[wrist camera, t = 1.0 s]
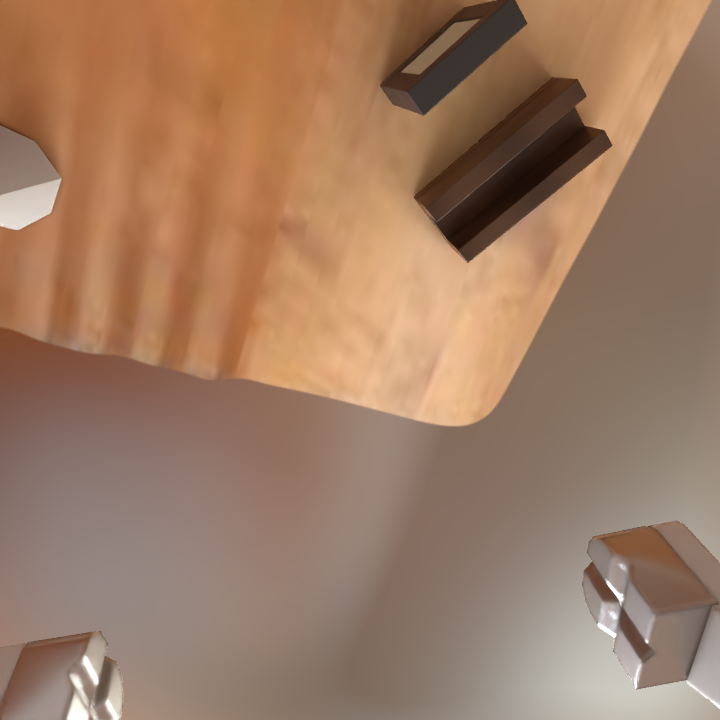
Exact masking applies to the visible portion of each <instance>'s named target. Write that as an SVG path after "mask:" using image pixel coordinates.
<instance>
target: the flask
mask: <svg viewBox="0 0 720 720" xmlns="http://www.w3.org/2000/svg"><path fill="white" fill-rule="evenodd" d="M61 179H62V178H61V177H60V175H59V174H58V173H57V171H56V170H55V168H54V167H53V166H52V164H51V163H50V161H49V160H48V159H47V157H46V156H45V154H44V153H43V152H42V150H41V149H40V147H39V146H38V145H37V143H36V142H35V141H33V140H31V139H29V138H27V137H25V136H22V135H20V134H18V133H16V132H14V131H12V130H9V129H7V128H5V127H3V126H1V125H0V226H2V227H6V228H10V229H15V230H19V229H21V228H23V227H25V226H27V225H29V224H31V223H33V222H35V221H37V220H39V219H41V218H42V217H44V216H46V215H48V214H50V213H51V211H52V208H53V205H54V201H55V198H56V195H57V192H58V189H59V186H60V183H61Z"/></svg>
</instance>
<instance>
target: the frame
mask: <svg viewBox="0 0 720 720" xmlns="http://www.w3.org/2000/svg"><path fill="white" fill-rule="evenodd" d="M526 24H527V22H526V20H525V18H524V16H523V14H522V12H521V11H520V9H519V7H518V5H517V3H516V1H515V0H496V1H491V2H487V3H483V4H478V5H474V6H469V7H464V8H463V9H462V10H461V11H460V12H458V13H457V14H456V15H455V16H454V17H453V18H452V19H451V20H450V21H449V22H448V23H447V24H445V25H444V26H443V27H442V28H441V29H440V30H439V31H438V32H437V33H436V34H435V35H434V36H432V37H431V38H430V39H429V40H428V41H427V42H426V43H425V44H424V45H423V46H422V47H421V48H419V49H418V50H417V51H416V52H415V53H414V54H413V55H412V56H411V57H410V58H409V59H408V60H406V61H405V62H404V63H403V64H402V65H401V66H400V67H399V68H398V69H397V70H396V71H395V72H393V73H392V74H391V75H390V76H389V77H388V78H387V79H386V80H385V81H384V82H383V83H382V84H380V86H381V88H382V89H383V91H384V92H385V93H386V95H387V96H388V98H389V99H390V100H391V102H392V103H393V105H396V106H399V107H402V108H404V109H407V110H410V111H413V112H415V113H418V114H420V115H423V116H424V115H425V114H427V113H428V112H429V111H430V110H431V109H432V108H433V107H434V106H436V105H437V104H438V103H439V102H440V101H441V100H442V99H443V98H444V97H446V96H447V95H448V94H449V93H450V92H451V91H452V90H453V89H455V88H456V87H457V86H458V85H459V84H460V83H461V82H462V81H464V80H465V79H466V78H467V77H468V76H469V75H470V74H471V73H473V72H474V71H475V70H476V69H477V68H478V67H479V66H480V65H481V64H483V63H484V62H485V61H486V60H487V59H488V58H489V57H490V56H492V55H493V54H494V53H495V52H496V51H497V50H498V49H499V48H501V47H502V46H503V45H504V44H505V43H506V42H507V41H508V40H510V39H511V38H512V37H513V36H514V35H515V34H516V33H517V32H519V31H520V30H521V29H522V28H523V27H524V26H525V25H526Z"/></svg>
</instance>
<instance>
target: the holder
mask: <svg viewBox="0 0 720 720" xmlns="http://www.w3.org/2000/svg"><path fill="white" fill-rule="evenodd" d="M585 97H586V94H585V92H584V90H583V88H582V87H581V85H580V83H579V81H578V79H566V78H554V77H553V78H551V79H550V80H549V81H548V82H547V83H546V84H544V85H543V86H542V87H541V88H540V89H539V90H537V91H536V92H535V93H534V94H533V95H532V96H530V97H529V98H528V99H527V100H526V101H525V102H524V103H522V104H521V105H520V106H519V107H518V108H517V109H515V110H514V111H513V112H512V113H511V114H510V115H508V116H507V117H506V118H505V119H504V120H503V121H501V122H500V123H499V124H498V125H497V126H496V127H494V128H493V129H492V130H491V131H490V132H489V133H487V134H486V135H485V136H484V137H483V138H482V139H480V140H479V141H478V142H477V143H476V144H475V145H474V146H472V147H471V148H470V149H469V150H468V151H467V152H465V153H464V154H463V155H462V156H461V157H460V158H458V159H457V160H456V161H455V162H454V163H453V164H451V165H450V166H449V167H448V168H447V169H446V170H444V171H443V172H442V173H441V174H440V175H439V176H437V177H436V178H435V179H434V180H433V181H432V182H431V183H429V184H428V185H427V186H426V187H425V188H424V189H422V190H421V191H420V192H419V193H418V194H417V195H415V196H414V199H415V200H416V201H417V203H418V204H419V205H420V206H421V208H422V209H423V210H424V212H425V213H426V214H427V216H428V217H429V218H430V220H431V221H432V222H433V223H434V225H435V226H436V227H437V229H438V230H439V231H440V233H441V234H442V235H443V237H444V238H445V239H446V241H447V242H448V243H449V244H450V246H451V247H452V248H453V249H454V250H455V251H456V252H457V253H458V254H459V255H460V256H461V257H462V258H463V259H464V260H465V261H466V262H467V263H469V262H470V261H471V260H472V259H474V258H475V257H476V256H477V255H479V254H480V253H481V252H482V251H483V250H485V249H486V248H487V247H488V246H490V245H491V244H492V243H493V242H495V241H496V240H497V239H498V238H499V237H501V236H502V235H503V234H504V233H506V232H507V231H508V230H509V229H511V228H512V227H513V226H514V225H515V224H517V223H518V222H519V221H520V220H522V219H523V218H524V217H525V216H527V215H528V214H529V213H530V212H531V211H533V210H534V209H535V208H536V207H538V206H539V205H540V204H541V203H543V202H544V201H545V200H546V199H547V198H549V197H550V196H551V195H552V194H554V193H555V192H556V191H557V190H559V189H560V188H561V187H562V186H563V185H565V184H566V183H567V182H568V181H570V180H571V179H572V178H573V177H575V176H576V175H577V174H578V173H579V172H581V171H582V170H583V169H584V168H586V167H587V166H588V165H589V164H591V163H592V162H593V161H594V160H595V159H597V158H598V157H599V156H600V155H602V154H603V153H604V152H605V151H607V150H608V149H609V148H610V147H611V146H612V144H611V142H610V140H609V138H608V136H607V134H606V132H605V131H604V130H601V129H596V128H592V127H587V126H584V124H583V122H582V120H581V118H580V117H579V115H578V113H577V111H576V109H575V106H576V105H577V104H578V103H579V102H581V101H582V100H583V99H584V98H585Z"/></svg>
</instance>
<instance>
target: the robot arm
mask: <svg viewBox="0 0 720 720" xmlns="http://www.w3.org/2000/svg"><path fill="white" fill-rule="evenodd" d="M587 553H588V555H589V557H590V558H591V560H592V562H591V563H590V565H589V566H588V567H587V568H586V569H585V570H584V575H583V583H582V585H583V590H584V595H585V600H586V603H587V605H588V608H589V610H590V612H591V614H592V616H593V618H594V620H595V621H596V623H597V625H598V626H599V627H600V628H601V629H603V630H605V631H606V632H608V633H609V634H611V635H612V636H614V637H615V638H614V648H613V652H614V653H615V655H616V656H617V658H618V660H619V662H620V663H621V665H622V666H623V668H624V670H625V671H626V673H627V675H628V676H629V678H630V680H631V681H632V683H633V685H634V686H635V688H636V689H641V688H646V687H652V686H657V685H662V684H668V683H673V682H678V681H684V680H687V684H688V685H690V686H691V687H692V688H694V689H695V690H696V691H697V692H699V693H700V694H702V695H703V696H704V697H706V698H707V699H708V700H709V701H711V702H712V703H713V704H715V705H716V706H717V707H719V708H720V562H719V561H718V560H717V559H716V558H715V557H714V556H713V555H712V554H711V553H710V552H709V550H708V549H707V548H706V547H705V546H704V545H703V544H702V543H701V542H700V541H699V540H698V539H697V538H696V536H695V535H694V534H693V533H692V532H691V531H690V530H689V529H688V528H687V527H686V526H685V525H684V524H682V523H680V522H679V521H672V522H667V523H662V524H657V525H651V526H647V527H646V526H642V527H637V528H633V529H628V530H623V531H618V532H613V533H608V534H603V535H599V536H594V537H592V539H591V540H590V541H589V544H588V549H587ZM107 645H108V643H107V641H106V639H105V637H104V636H103V634H102V632H101V631H95V632H88V633H82V634H77V635H70V636H64V637H57V638H52V639H46V640H39V641H33V642H27V643H21V644H16V645H10V646H4V647H0V720H120V718H121V712H122V707H123V682H122V676H121V672H120V669H119V667H118V664H117V662H116V661H114V660H112V659H110V658H108V657H106V656H105V654H106V650H107Z"/></svg>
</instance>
